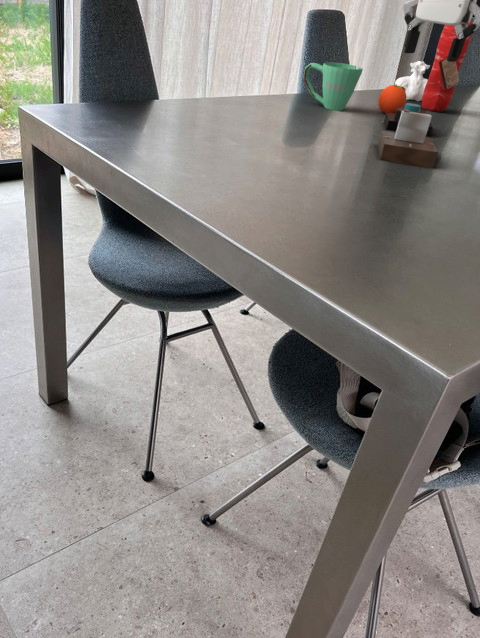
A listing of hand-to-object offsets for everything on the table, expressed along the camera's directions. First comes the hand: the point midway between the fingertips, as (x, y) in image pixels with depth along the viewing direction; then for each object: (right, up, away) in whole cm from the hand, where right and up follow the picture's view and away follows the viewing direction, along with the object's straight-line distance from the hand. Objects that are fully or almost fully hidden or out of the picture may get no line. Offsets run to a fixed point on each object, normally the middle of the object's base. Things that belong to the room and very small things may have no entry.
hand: (429, 57), depth 116 cm
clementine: (+3, +4, +34) cm, 34 cm away
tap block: (-6, -21, -2) cm, 22 cm away
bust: (+18, +19, +58) cm, 63 cm away
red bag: (+19, +9, +44) cm, 49 cm away
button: (+3, -3, +17) cm, 18 cm away
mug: (-14, +5, +33) cm, 36 cm away
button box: (+2, -6, +20) cm, 21 cm away
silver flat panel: (-6, -19, -4) cm, 20 cm away
